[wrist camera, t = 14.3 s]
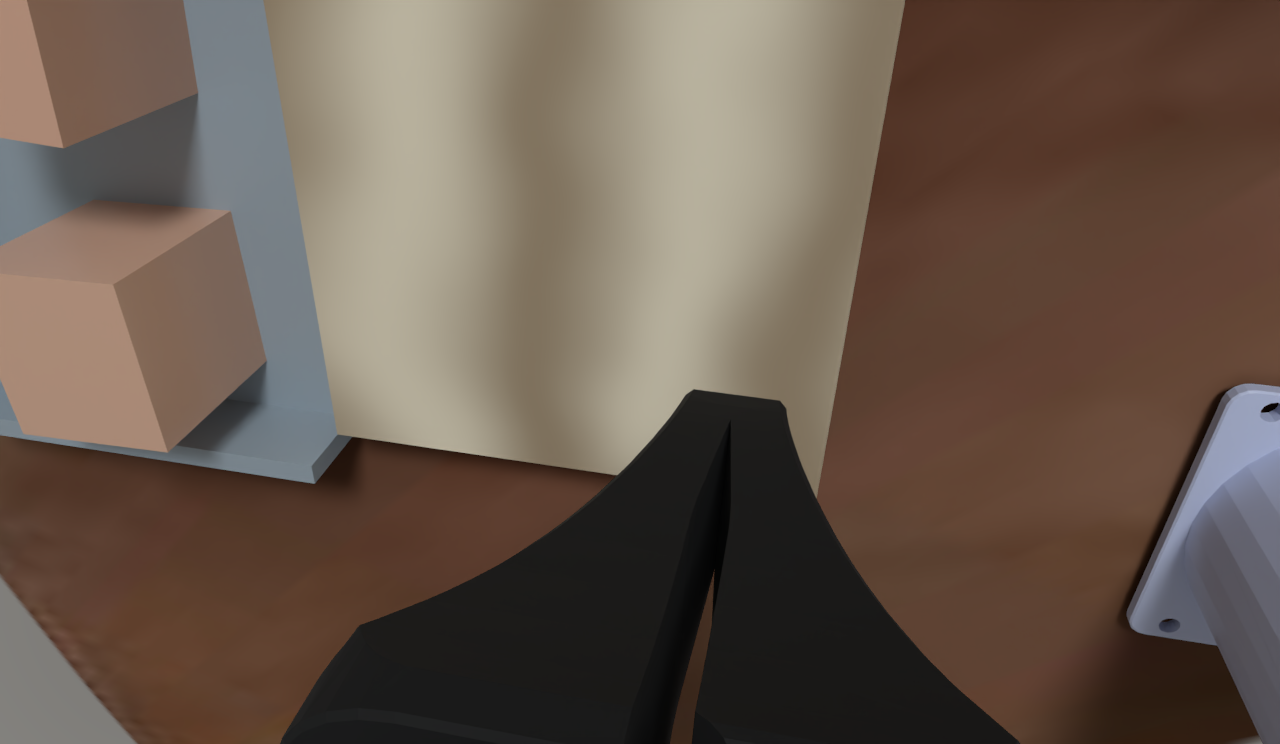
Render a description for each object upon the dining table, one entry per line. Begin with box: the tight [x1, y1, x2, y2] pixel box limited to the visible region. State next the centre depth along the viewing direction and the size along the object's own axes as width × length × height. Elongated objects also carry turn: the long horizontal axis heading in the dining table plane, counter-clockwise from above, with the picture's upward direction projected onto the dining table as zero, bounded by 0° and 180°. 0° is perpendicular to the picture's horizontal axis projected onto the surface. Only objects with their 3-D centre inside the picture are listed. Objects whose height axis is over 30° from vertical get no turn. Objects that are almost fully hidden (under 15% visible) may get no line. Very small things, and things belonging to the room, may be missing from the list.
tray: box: [0, 0, 352, 484], centre depth 22 cm, size 12×16×3 cm
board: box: [263, 0, 905, 498], centre depth 21 cm, size 13×14×2 cm
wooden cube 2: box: [0, 200, 267, 453], centre depth 23 cm, size 4×4×4 cm
